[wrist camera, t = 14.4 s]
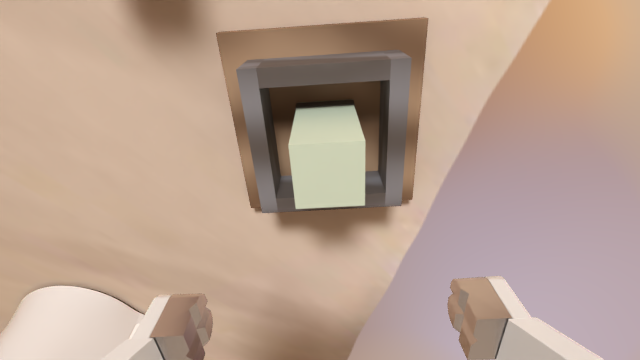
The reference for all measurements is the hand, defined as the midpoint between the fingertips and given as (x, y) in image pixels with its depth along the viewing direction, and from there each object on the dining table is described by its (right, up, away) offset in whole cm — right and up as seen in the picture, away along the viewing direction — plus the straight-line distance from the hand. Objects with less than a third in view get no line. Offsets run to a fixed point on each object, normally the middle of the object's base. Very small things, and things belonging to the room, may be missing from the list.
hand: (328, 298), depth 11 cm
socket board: (0, +8, +15) cm, 17 cm away
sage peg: (0, +8, +14) cm, 16 cm away
